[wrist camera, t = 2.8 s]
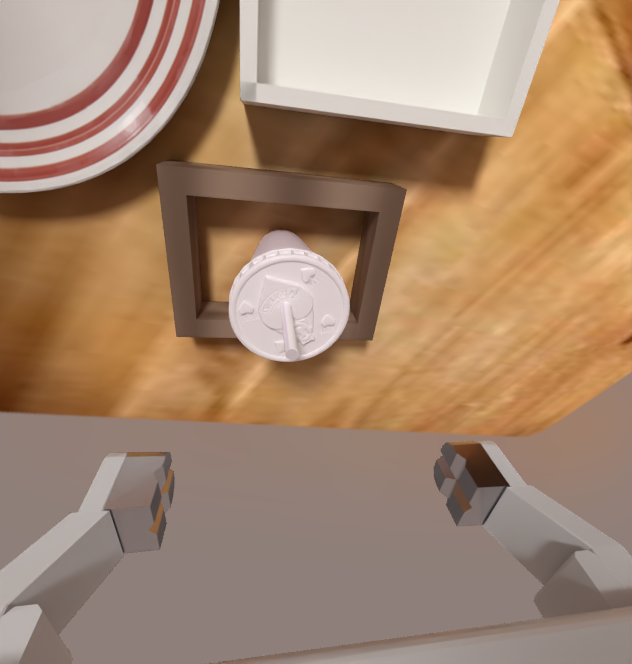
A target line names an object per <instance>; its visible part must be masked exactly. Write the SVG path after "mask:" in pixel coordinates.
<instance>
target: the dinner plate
mask: <svg viewBox="0 0 632 664" xmlns="http://www.w3.org/2000/svg"><path fill="white" fill-rule="evenodd" d="M219 2H220V0H0V193H27V192H39V191H49V190H54V189H59V188H64V187H68V186H72V185H76V184H79V183H82V182H85V181H87V180H90V179H92V178H95V177H97V176H100V175H102V174H104V173H106V172H108V171H110V170H112V169H114V168H115V167H117V166H119V165H121V164H122V163H124V162H126V161H127V160H129V159H130V158H131V157H133V156H134V155H135V154H137V153H138V152H139V151H140V150H141V149H143V148H144V147H145V146H146V145H147V144H149V143H150V142H151V141H152V140H153V139H154V138H155V137H156V136H157V134H158V133H159V132H160V131H161V130H162V129H163V128H164V127H165V126H166V125H167V123H168V122H169V121H170V120H171V118H172V117H173V116H174V114H175V113H176V111H177V110H178V108H179V107H180V105H181V103H182V102H183V100H184V99H185V97H186V96H187V94H188V92H189V90H190V88H191V87H192V85H193V83H194V81H195V77H196V76H197V74H198V72H199V69H200V67H201V65H202V62H203V60H204V57H205V54H206V51H207V48H208V45H209V42H210V39H211V35H212V31H213V28H214V24H215V20H216V16H217V11H218V7H219Z"/></svg>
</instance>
